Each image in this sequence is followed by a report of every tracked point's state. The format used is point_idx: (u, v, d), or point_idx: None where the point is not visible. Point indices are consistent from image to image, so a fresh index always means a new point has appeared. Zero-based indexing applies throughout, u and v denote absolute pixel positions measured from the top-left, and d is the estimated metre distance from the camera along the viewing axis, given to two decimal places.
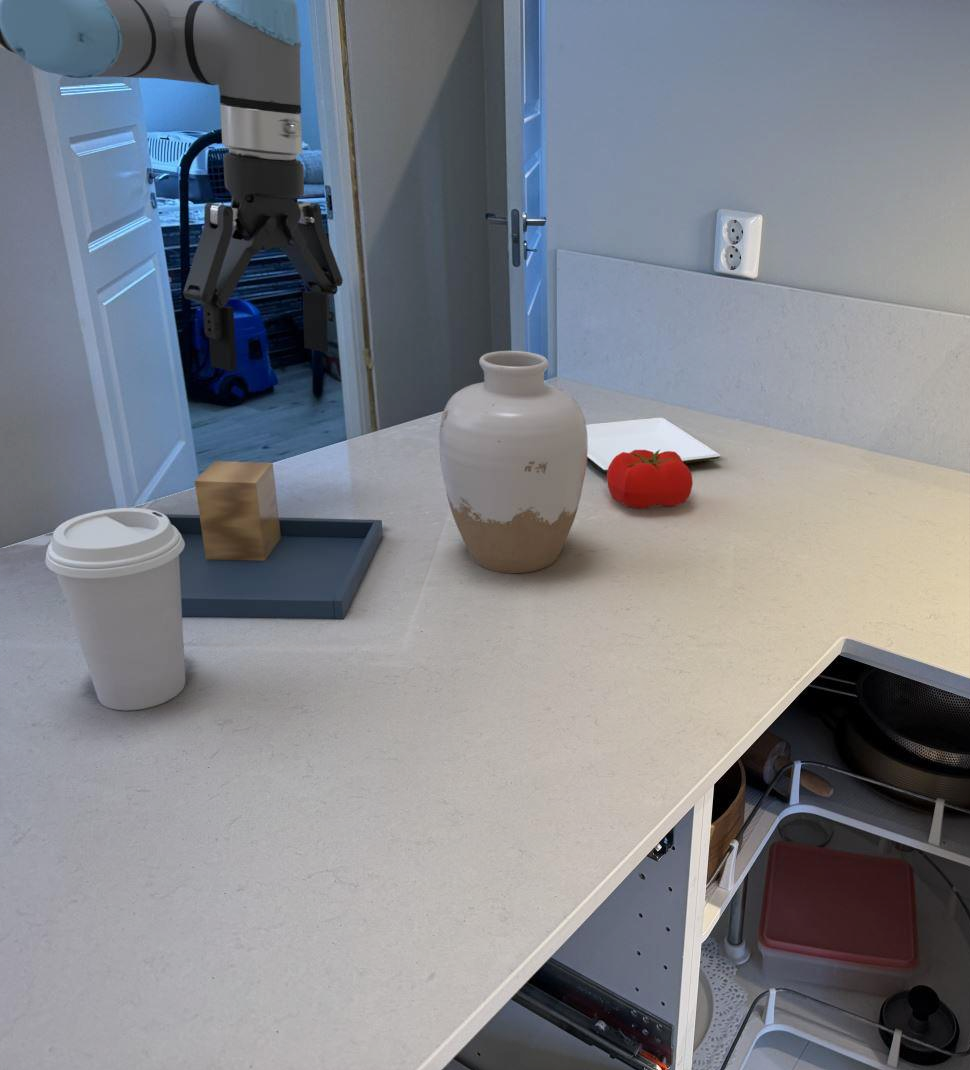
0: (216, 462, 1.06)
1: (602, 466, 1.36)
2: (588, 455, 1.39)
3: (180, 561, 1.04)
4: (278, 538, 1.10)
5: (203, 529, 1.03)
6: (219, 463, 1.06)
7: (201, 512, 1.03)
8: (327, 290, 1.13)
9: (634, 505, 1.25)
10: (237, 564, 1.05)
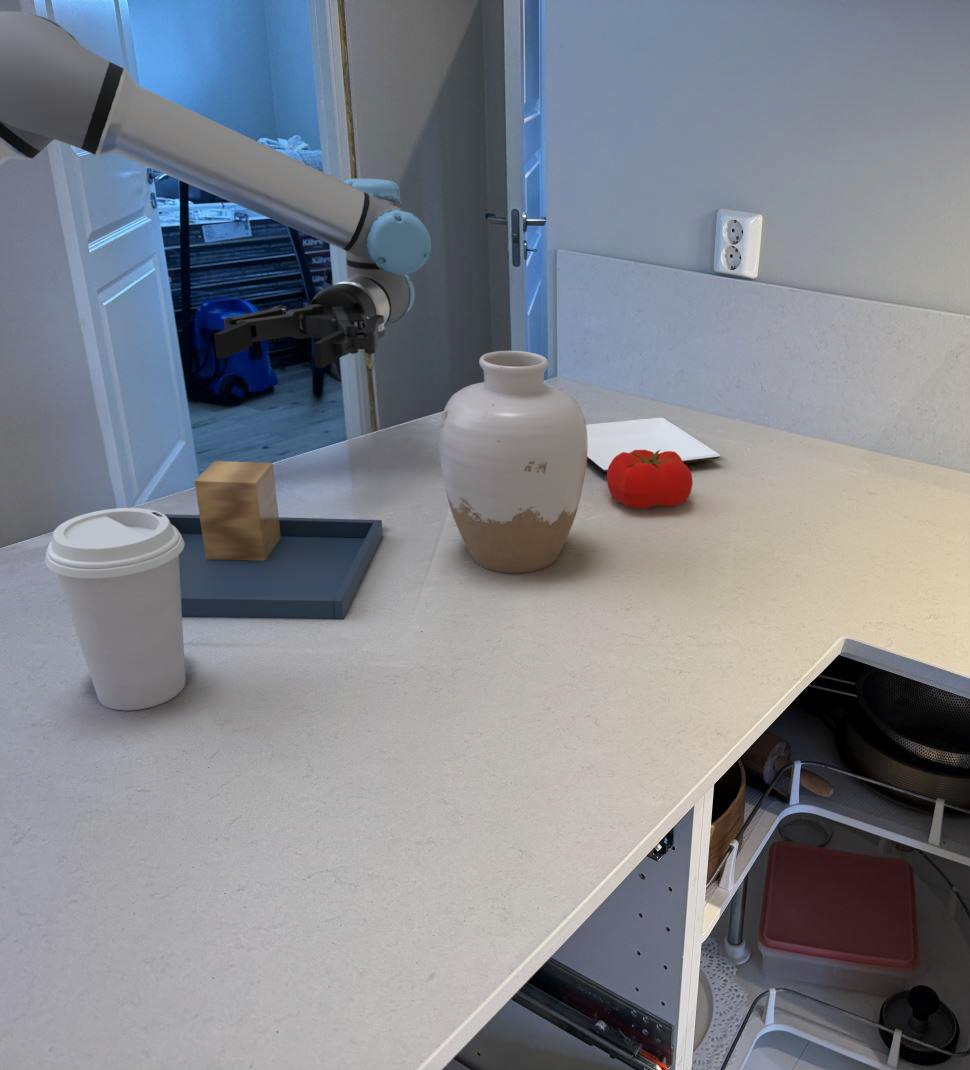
0: (216, 462, 1.06)
1: (602, 466, 1.36)
2: (588, 455, 1.39)
3: (180, 561, 1.04)
4: (278, 538, 1.10)
5: (203, 529, 1.03)
6: (219, 463, 1.06)
7: (201, 512, 1.03)
8: None
9: (634, 505, 1.25)
10: (237, 564, 1.05)
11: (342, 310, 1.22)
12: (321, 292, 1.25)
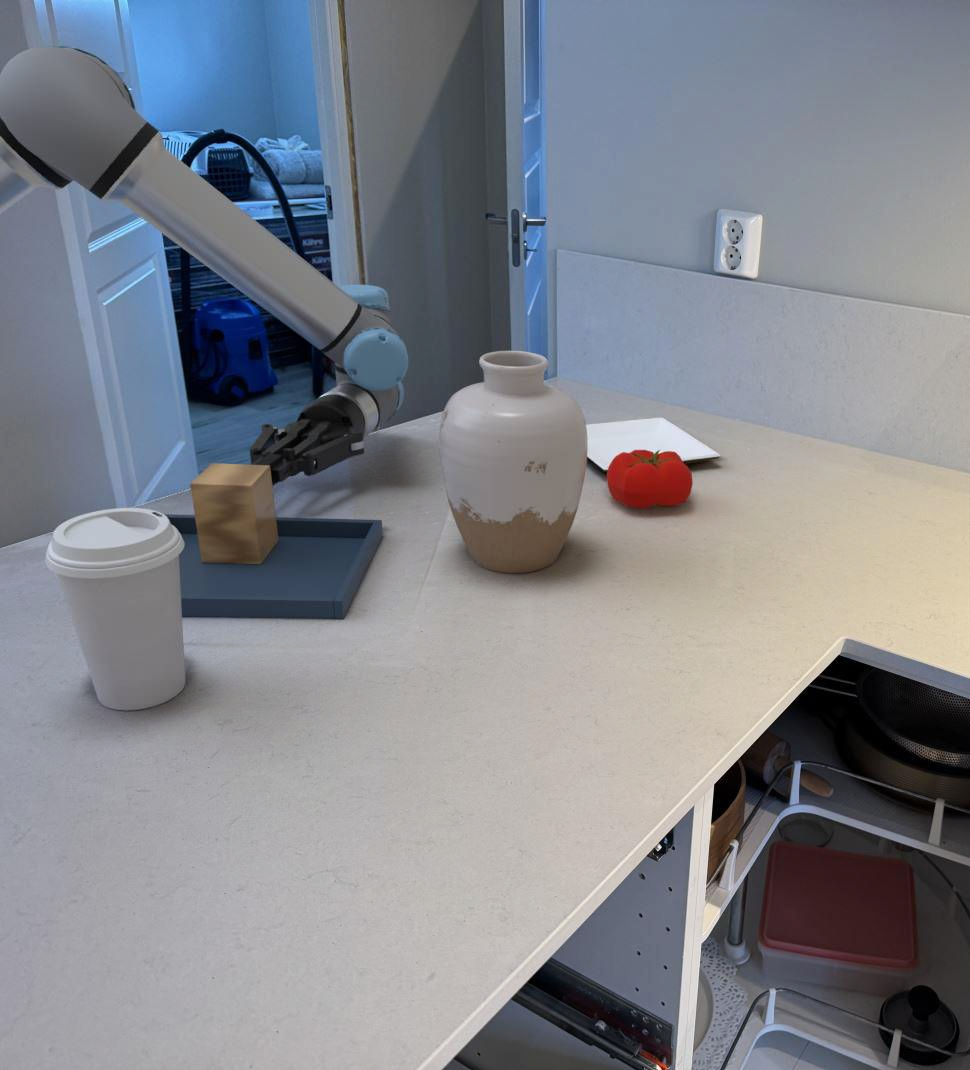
0: (213, 464, 1.06)
1: (602, 466, 1.36)
2: (588, 455, 1.39)
3: (180, 561, 1.04)
4: (275, 541, 1.09)
5: (199, 532, 1.03)
6: (216, 465, 1.05)
7: (197, 515, 1.02)
8: None
9: (634, 505, 1.25)
10: (237, 564, 1.05)
11: (325, 427, 1.22)
12: (309, 406, 1.25)
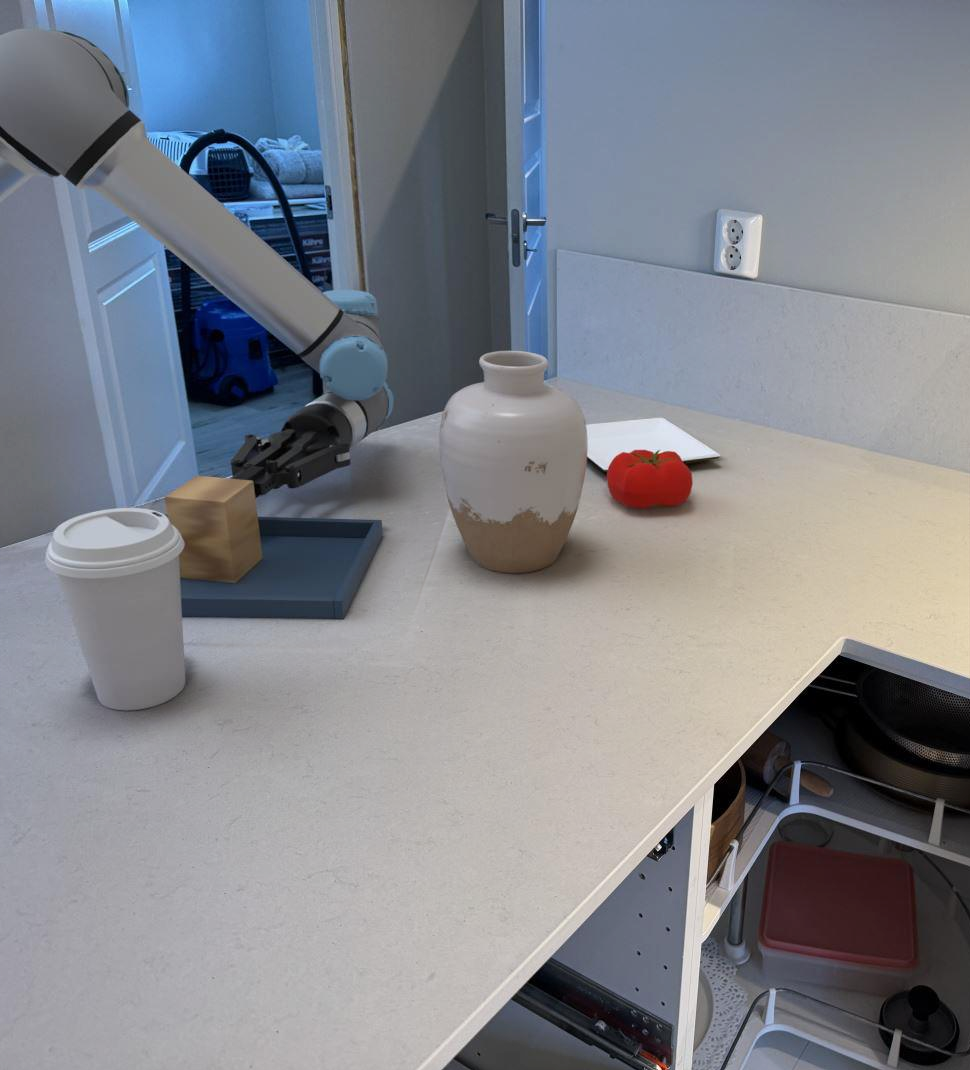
0: (197, 477, 1.02)
1: (602, 466, 1.36)
2: (588, 455, 1.39)
3: None
4: (258, 559, 1.05)
5: None
6: (199, 478, 1.02)
7: None
8: None
9: (634, 505, 1.25)
10: None
11: (310, 437, 1.18)
12: (294, 415, 1.21)
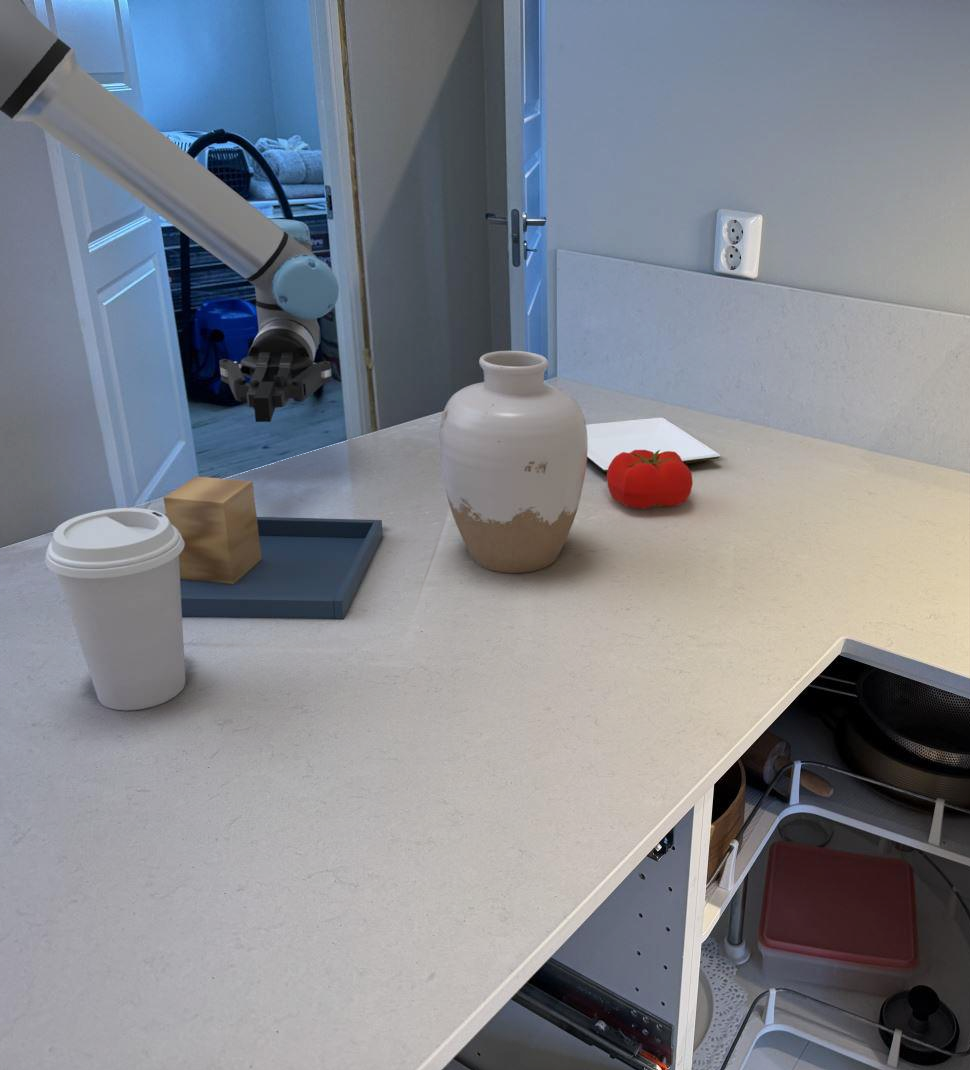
0: (196, 477, 1.02)
1: (602, 466, 1.36)
2: (588, 455, 1.39)
3: None
4: (257, 560, 1.05)
5: None
6: (198, 479, 1.02)
7: None
8: None
9: (634, 505, 1.25)
10: None
11: (290, 357, 1.22)
12: (262, 339, 1.24)
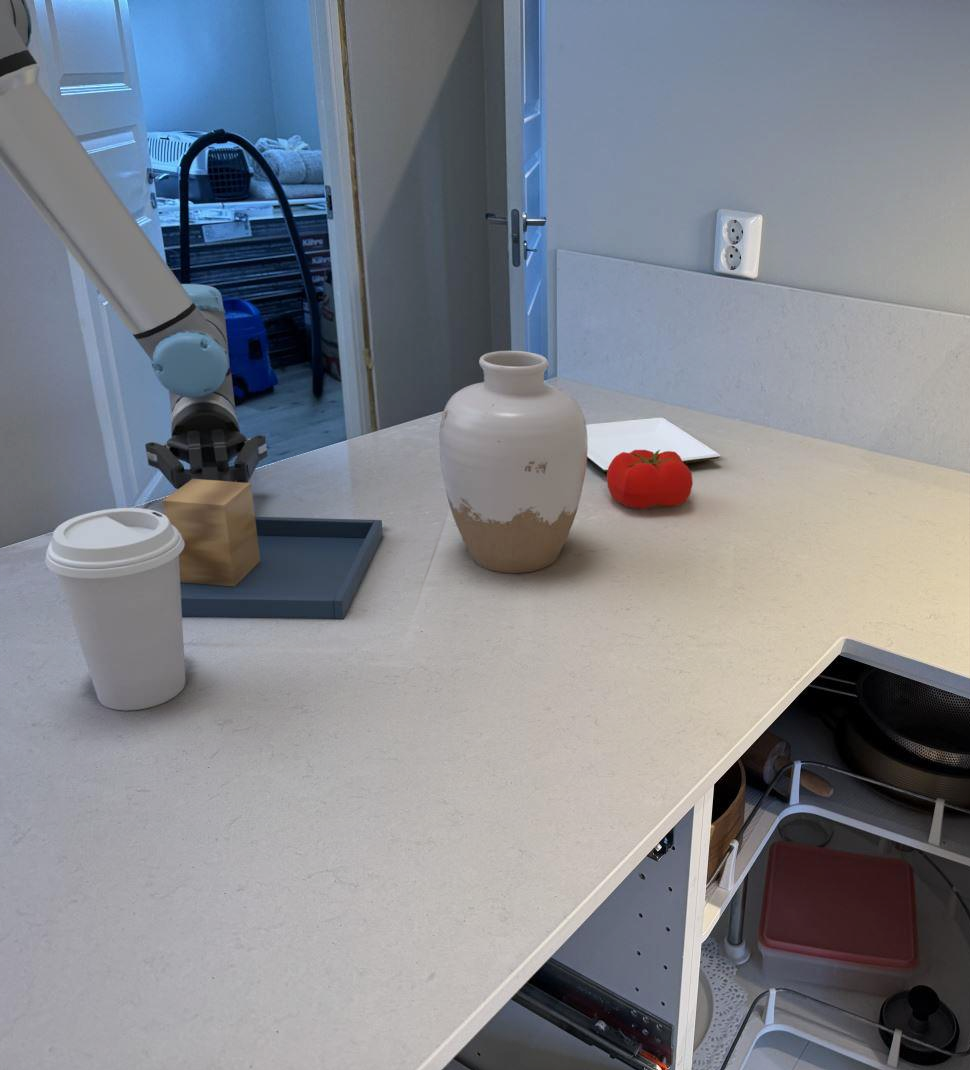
0: (193, 480, 1.01)
1: (602, 466, 1.36)
2: (588, 455, 1.39)
3: None
4: (256, 562, 1.05)
5: None
6: (196, 481, 1.01)
7: None
8: None
9: (634, 505, 1.25)
10: None
11: (222, 434, 1.16)
12: (186, 417, 1.17)
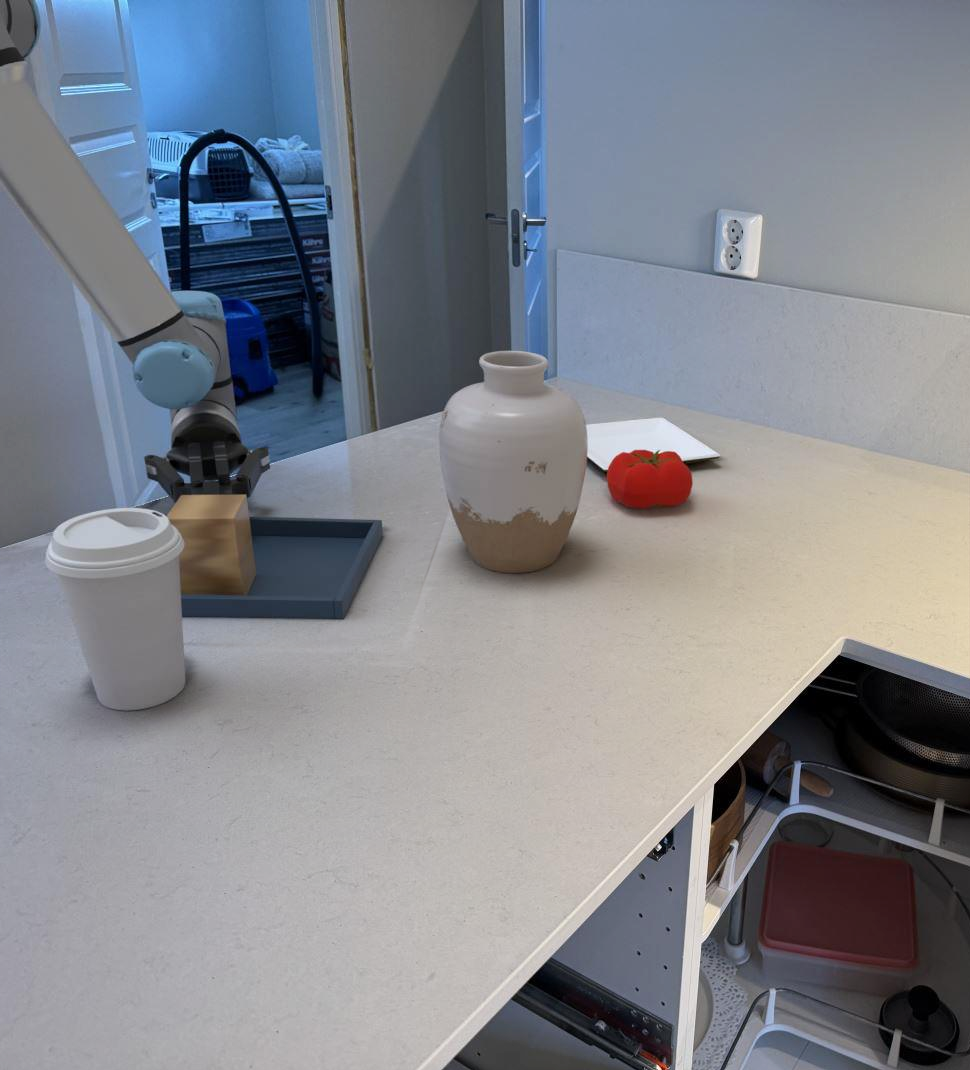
0: (183, 496, 0.97)
1: (602, 466, 1.36)
2: (588, 455, 1.39)
3: None
4: (254, 575, 1.02)
5: None
6: (187, 497, 0.97)
7: None
8: None
9: (634, 505, 1.25)
10: None
11: (223, 446, 1.13)
12: (187, 428, 1.14)
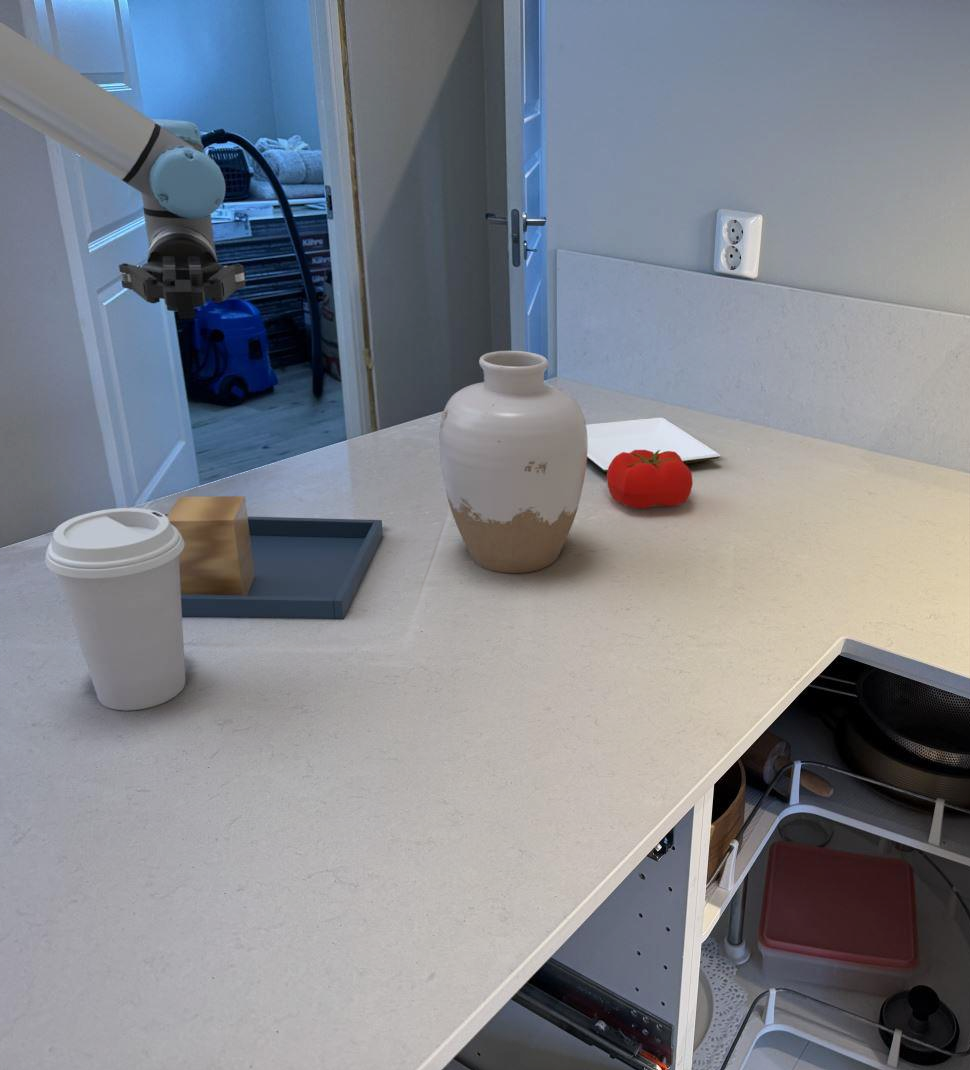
0: (181, 498, 0.97)
1: (602, 466, 1.36)
2: (588, 455, 1.39)
3: None
4: (253, 577, 1.02)
5: None
6: (185, 499, 0.97)
7: None
8: None
9: (634, 505, 1.25)
10: None
11: (198, 260, 1.13)
12: (162, 243, 1.15)
